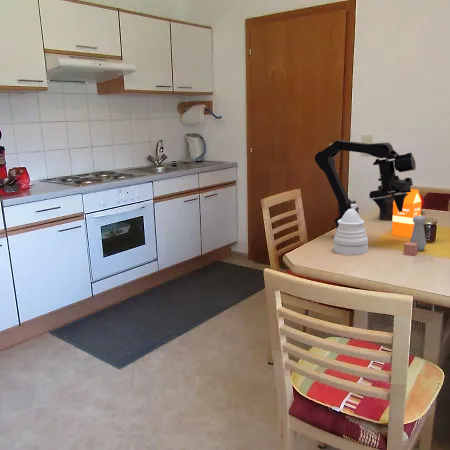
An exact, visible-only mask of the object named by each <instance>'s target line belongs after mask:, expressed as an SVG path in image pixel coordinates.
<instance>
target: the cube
mask: <svg viewBox="0 0 450 450" xmlns="http://www.w3.org/2000/svg"><path fill="white" fill-rule="evenodd" d="M417 247H418V243H413V242H410V241H406V242H405V243H404V244H403V255H405V256H414V257H415V256H416V255H417V254H418V251H417Z"/></svg>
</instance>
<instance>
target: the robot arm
mask: <svg viewBox="0 0 450 450" xmlns="http://www.w3.org/2000/svg"><path fill="white" fill-rule="evenodd" d="M340 151H344V152H353V153H355V152H356V153H361V154H363V153H364V154H366V155H370V156H372V157H375V158H376V159H375V161H374V162H373V163H372V165H373V166H378V169H379V178H378V179H377V180H378V182H380V185H382V189H380V190H378V189H377V190H371V191H370V192H369V195H368V196H369V199H371V200H372V201H374V203H375V204H376V205H377V207H378V208H379V210H380V209H381V211H382V212H383V214H384V215H387V200H388V198H389V197H388V196H387V195H388V194H391V195H392V194H394V195H393V198H394V201H395V203H396V206H397V209H398V211H399V212H402V208H403V203H404V199H405V197H406V196H407V195H409V193H408V192H411V189H412V188H411V187H412V186H413V185H414V184H413V180H412V178H411V177H406V178H404V179H401V178H400V176H399V175H396V172H398V173H404V172H410V171H415V170H416V166H417V165H416V160H415V158H414V156H413V153H412V152H408V153H405V154H399V153H398V152H397V151H396V150H394V147H393V145H392V144H391V143H390V142H376V143H375V142H374V143H366V142H357V141H349V140H343V139H338V140H335V141H333V143H331V144H330V145H329V146H327V147H326V148H324V149H323V150H320V151H318V152H317V153H316V154H315V156H314V161H315V163H316V164H317V166H318V168H320V170H322V172H323V173H324V175H325V176H326V179H327V181H328V183H329V185H330V187H331V190H332V192H333V195H334V196H335V199H336V201H337V204H338V212H339V216H338V217H336V218H335V219H334V223H335V225H336V228H335V229H336V231H337V228H338V226H339V223H338V220H340V219H342V217H343V215H344V214H345V212H346V211H347V210H348V209H352V208H351V204H357V201H356V200H353V201H352V200H351V199H350V198H349V196H348V194H347V192H346V190H345V187H344V185H343V183H342V180H341V179H340V177H339V174H338V172H337V170H336V163H335V156H337V155H338V154H339V153H340ZM406 193H407V194H406ZM359 209H360V208H359V207H358V206H357V208H356V209H355V210H356V212H357V213H358V214H359V213H360V212H359ZM359 215H360V214H359ZM336 231H335V232H336Z"/></svg>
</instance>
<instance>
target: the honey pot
mask: <svg viewBox="0 0 450 450" xmlns="http://www.w3.org/2000/svg"><path fill="white" fill-rule="evenodd" d="M357 207H358V204H357V203H356V204H351V208H352V209H348V210H347V211H346V212H345V214H344V215H343V217H342V219H340V220H338V223H339V226H338V228H337V231H335V234H334V236H333V252H334V253H336V254H338V255H344V256H361V255H365V254H367V253H369V252H368V250H369V246H368V245H369V238H368V235H367V231H366V229H365V226H364V224H365V220H364V219H362V218H361V217H360V214H358V213H357V212H356V210H355V209H356V208H357Z"/></svg>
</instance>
